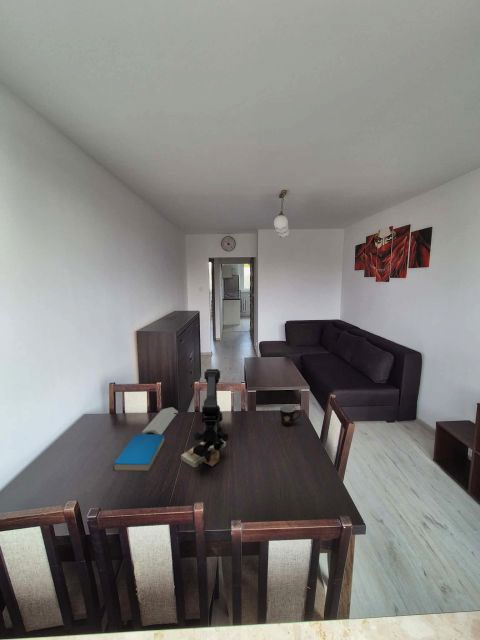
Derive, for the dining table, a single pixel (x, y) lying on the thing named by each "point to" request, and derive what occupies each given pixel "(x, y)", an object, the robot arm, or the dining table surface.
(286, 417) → the coffee mug
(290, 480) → the dining table surface
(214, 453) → the block
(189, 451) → the plank
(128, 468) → the book
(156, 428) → the crown molding
